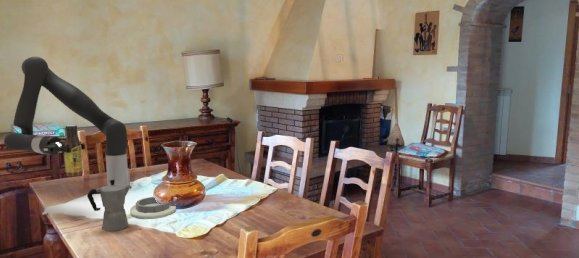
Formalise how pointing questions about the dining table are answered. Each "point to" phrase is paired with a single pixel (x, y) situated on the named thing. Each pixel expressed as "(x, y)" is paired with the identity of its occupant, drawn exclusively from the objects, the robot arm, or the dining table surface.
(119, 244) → the dining table surface
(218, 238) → the dining table surface
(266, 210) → the dining table surface
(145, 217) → the ring tray
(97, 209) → the coffeepot
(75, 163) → the sauce bottle
